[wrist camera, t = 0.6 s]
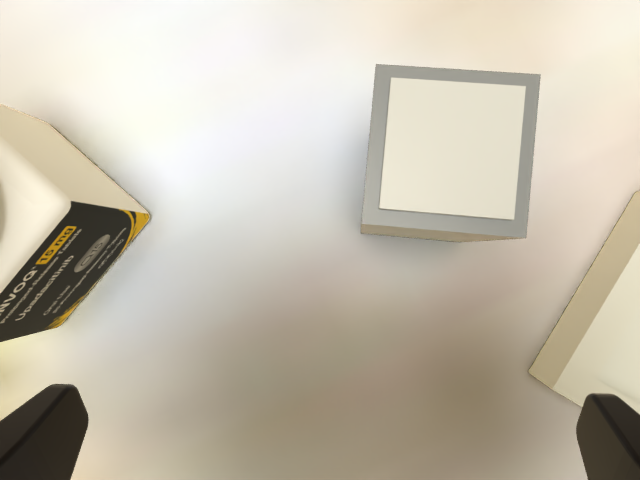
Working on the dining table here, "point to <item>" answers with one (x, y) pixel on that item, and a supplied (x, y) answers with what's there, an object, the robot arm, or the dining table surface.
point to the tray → (600, 324)
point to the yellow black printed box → (54, 225)
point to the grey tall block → (450, 154)
